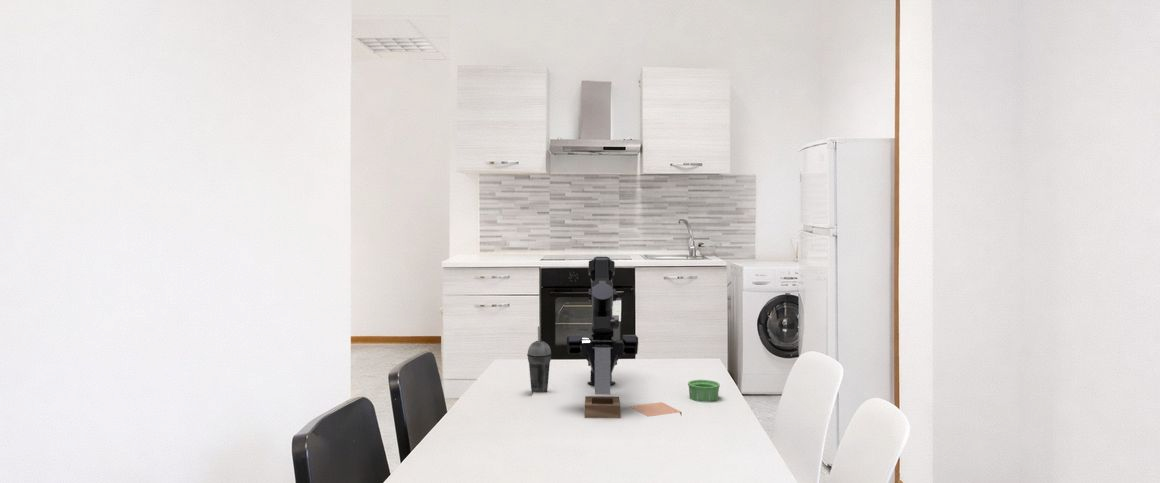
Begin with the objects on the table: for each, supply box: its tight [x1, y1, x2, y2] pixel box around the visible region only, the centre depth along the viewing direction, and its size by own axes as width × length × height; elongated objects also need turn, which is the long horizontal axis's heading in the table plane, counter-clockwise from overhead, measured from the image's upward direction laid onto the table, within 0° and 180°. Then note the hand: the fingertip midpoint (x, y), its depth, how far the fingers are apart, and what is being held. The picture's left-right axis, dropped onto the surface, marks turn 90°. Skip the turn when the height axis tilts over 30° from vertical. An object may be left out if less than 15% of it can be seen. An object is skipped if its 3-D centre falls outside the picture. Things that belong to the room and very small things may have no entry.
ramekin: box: [687, 379, 721, 402], centre depth 179 cm, size 9×9×4 cm
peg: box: [594, 345, 611, 396], centre depth 161 cm, size 4×4×12 cm
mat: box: [629, 401, 683, 417], centre depth 165 cm, size 10×10×1 cm
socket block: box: [584, 395, 621, 419], centre depth 161 cm, size 9×9×4 cm
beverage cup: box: [527, 326, 552, 395], centre depth 184 cm, size 7×7×20 cm
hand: (602, 372), depth 160 cm, fingers closed on peg, 4 cm apart
